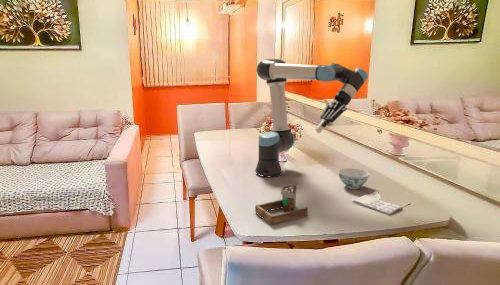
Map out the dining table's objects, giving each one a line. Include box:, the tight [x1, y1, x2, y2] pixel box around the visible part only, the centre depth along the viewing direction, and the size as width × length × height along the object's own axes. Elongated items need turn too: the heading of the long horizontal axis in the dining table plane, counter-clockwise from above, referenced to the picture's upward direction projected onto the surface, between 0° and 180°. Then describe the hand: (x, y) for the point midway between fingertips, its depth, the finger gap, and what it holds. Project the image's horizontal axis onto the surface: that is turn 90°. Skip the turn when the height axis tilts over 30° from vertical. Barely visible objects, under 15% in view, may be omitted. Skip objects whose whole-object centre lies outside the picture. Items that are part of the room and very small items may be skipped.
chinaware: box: [338, 167, 370, 190], centre depth 176 cm, size 15×15×8 cm
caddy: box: [254, 199, 309, 226], centre depth 144 cm, size 13×18×4 cm
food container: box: [280, 183, 297, 213], centre depth 148 cm, size 12×6×10 cm, turn 168°
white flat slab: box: [351, 190, 402, 216], centre depth 156 cm, size 19×20×2 cm
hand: (317, 131), depth 166 cm, fingers closed
